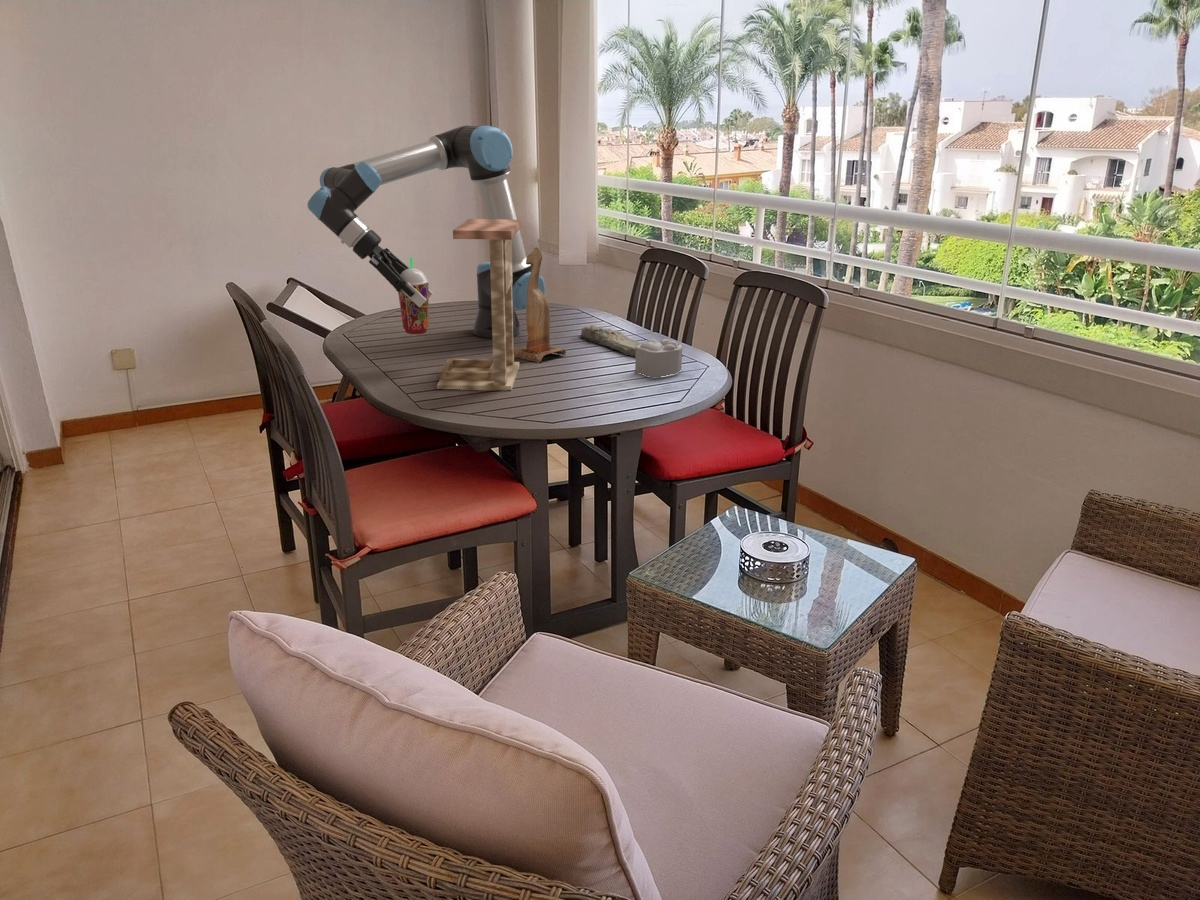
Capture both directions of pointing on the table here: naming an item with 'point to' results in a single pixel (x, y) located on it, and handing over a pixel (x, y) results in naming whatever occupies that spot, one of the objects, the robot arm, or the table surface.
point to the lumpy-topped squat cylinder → (658, 358)
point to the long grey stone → (611, 339)
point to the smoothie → (411, 314)
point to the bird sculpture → (536, 316)
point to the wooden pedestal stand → (502, 366)
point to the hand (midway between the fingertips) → (426, 300)
